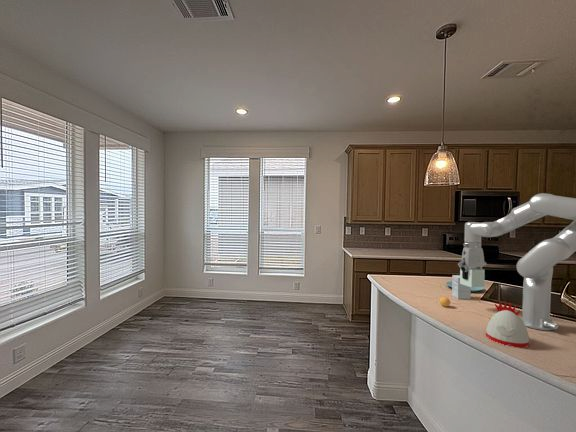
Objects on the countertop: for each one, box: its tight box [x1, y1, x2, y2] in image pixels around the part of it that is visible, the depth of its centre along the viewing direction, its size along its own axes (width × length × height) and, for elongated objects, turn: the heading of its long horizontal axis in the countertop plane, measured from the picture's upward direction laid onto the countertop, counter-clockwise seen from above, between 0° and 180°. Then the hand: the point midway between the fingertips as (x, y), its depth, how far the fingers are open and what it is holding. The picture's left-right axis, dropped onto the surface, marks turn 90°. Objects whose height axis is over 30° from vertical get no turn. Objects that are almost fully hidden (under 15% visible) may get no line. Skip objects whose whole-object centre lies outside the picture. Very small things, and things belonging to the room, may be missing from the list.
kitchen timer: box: [485, 301, 530, 348], centre depth 117 cm, size 14×14×15 cm
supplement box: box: [451, 274, 472, 300], centre depth 174 cm, size 7×7×13 cm
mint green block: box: [459, 267, 486, 288], centre depth 154 cm, size 8×8×9 cm
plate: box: [444, 280, 485, 293], centre depth 194 cm, size 22×22×3 cm
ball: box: [439, 296, 451, 308], centre depth 157 cm, size 5×5×5 cm
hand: (472, 278), depth 154 cm, fingers closed on mint green block, 7 cm apart
